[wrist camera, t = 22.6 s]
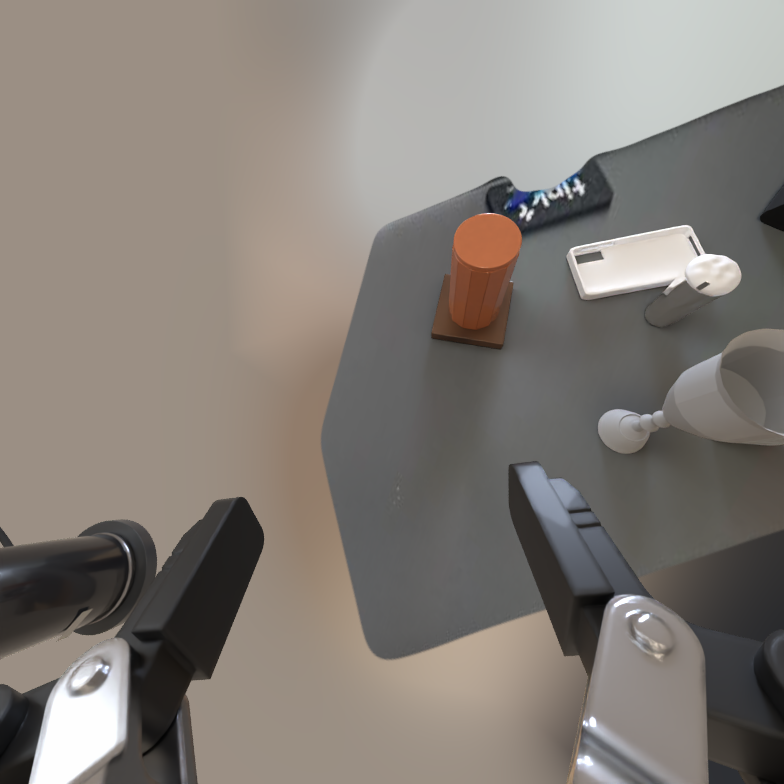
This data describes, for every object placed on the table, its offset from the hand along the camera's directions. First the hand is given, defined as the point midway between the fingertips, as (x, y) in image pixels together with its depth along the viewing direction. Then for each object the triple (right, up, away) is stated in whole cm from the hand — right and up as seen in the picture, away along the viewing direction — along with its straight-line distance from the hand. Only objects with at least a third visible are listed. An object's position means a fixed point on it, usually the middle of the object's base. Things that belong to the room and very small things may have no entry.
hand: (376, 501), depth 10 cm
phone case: (+32, +20, +32) cm, 49 cm away
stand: (+11, +14, +33) cm, 38 cm away
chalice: (+27, -1, +27) cm, 38 cm away
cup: (+11, +14, +32) cm, 36 cm away
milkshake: (+33, +12, +30) cm, 46 cm away
